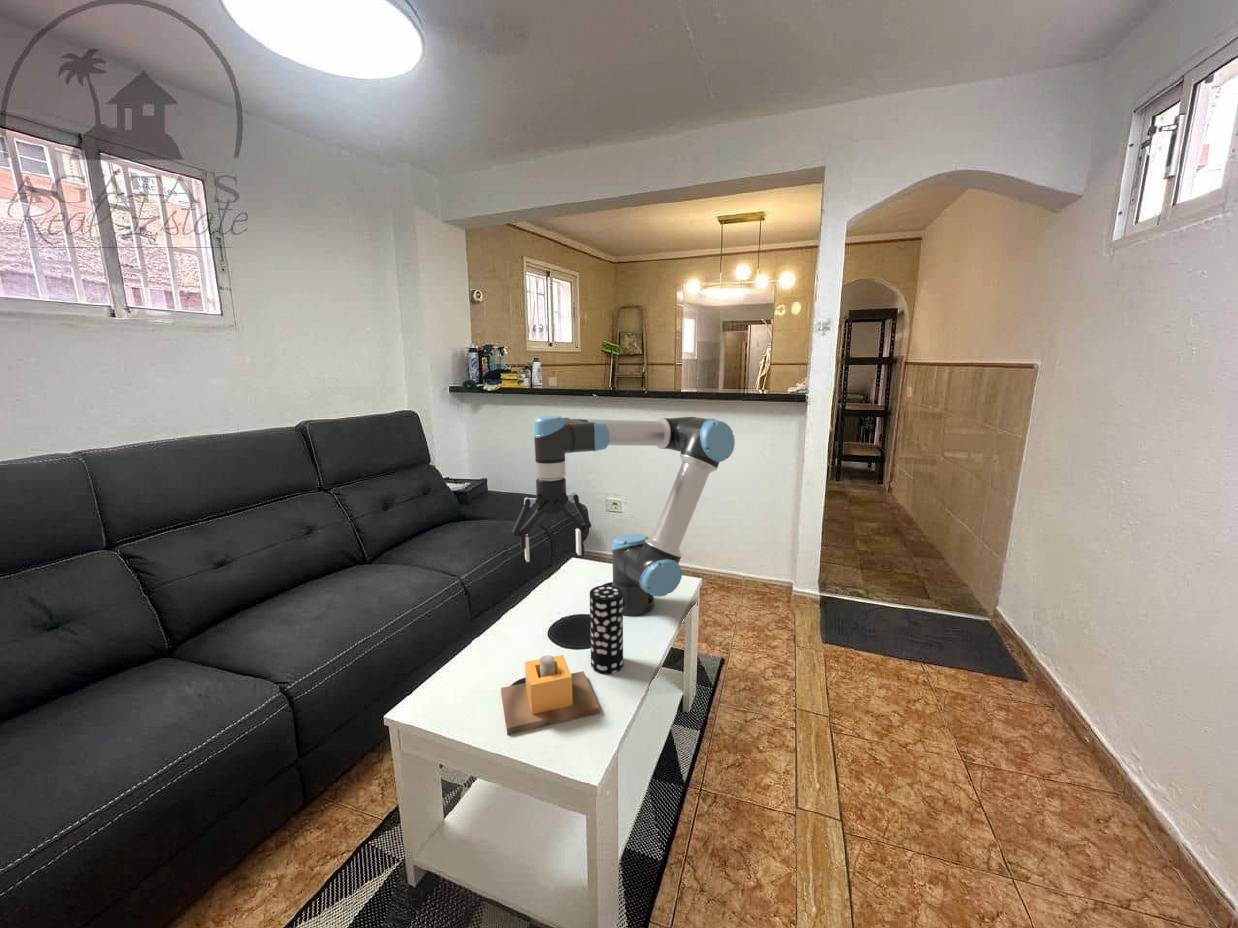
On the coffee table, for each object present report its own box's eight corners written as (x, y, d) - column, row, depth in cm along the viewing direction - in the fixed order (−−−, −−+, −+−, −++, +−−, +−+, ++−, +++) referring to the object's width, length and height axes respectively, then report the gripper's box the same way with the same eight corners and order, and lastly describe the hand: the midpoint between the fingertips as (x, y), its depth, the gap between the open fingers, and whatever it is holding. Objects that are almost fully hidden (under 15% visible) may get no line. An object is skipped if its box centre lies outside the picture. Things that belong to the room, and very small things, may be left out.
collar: (564, 681, 117) (563, 654, 115) (572, 705, 108) (571, 676, 107) (526, 689, 114) (524, 661, 113) (531, 714, 106) (530, 685, 104)
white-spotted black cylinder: (599, 677, 120) (598, 602, 117) (585, 660, 128) (584, 589, 124) (628, 668, 124) (628, 595, 121) (614, 652, 131) (613, 582, 128)
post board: (583, 676, 121) (582, 635, 119) (599, 713, 108) (598, 668, 106) (501, 693, 115) (498, 650, 113) (507, 734, 102) (504, 687, 100)
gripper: (594, 471, 131) (595, 546, 135) (499, 478, 124) (503, 557, 128) (602, 476, 124) (603, 555, 128) (502, 484, 117) (506, 568, 121)
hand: (553, 556), depth 128 cm, fingers open, 13 cm apart
